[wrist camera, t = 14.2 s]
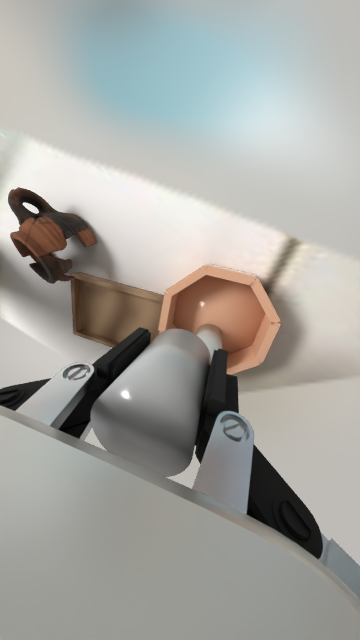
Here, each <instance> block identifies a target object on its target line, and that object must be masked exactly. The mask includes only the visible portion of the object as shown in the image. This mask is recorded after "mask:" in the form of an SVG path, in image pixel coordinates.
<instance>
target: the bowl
mask: <svg viewBox="0 0 360 640" xmlns="http://www.w3.org/2000/svg"><path fill="white" fill-rule="evenodd" d="M280 321H281V320H280V318H279V316H278V315H277V313H276V311H275V309H274V307H273V305H272V303H271V301H270V299H269V297H268V296H267V294H266V292H265V290H264V288H263V286H262V284H261V282H260V280H259V279H258V278H257V277H256V276H255V275H253V274H252V273H248V272H244V271H239V270H235V269H232V268H227V267H222V266H218V265H213V264H208V265H204V266H202V267H201V268H199V269H198V270H196V271H195V272H193V273H192V274H190V275H189V276H187V277H186V278H184V279H183V280H181V281H179V282H178V283H176V284H175V285H173V286H172V287H170V288H169V289H167V290H166V292H165V293H164V299H163V305H162V311H161V316H160V322H159V328H158V330H159V331H160V332H159V334H160V333H162V332H164V331H166V330H169V329H184V330H187V331H190V332H192V333H194V334H196V331H197V329H198V328H199V327H200V326H202V325H204V324H213V325H215V326H217V327H218V328H219V329H220V330H221V332H222V334H223V342H222V349H223V350H227V351H228V357H227V374H229V375H232V374H235V373H238V372H241V371H243V370H246V369H249V368H252V367H255V366H258V365H260V362H261V363H263V361H264V359H265V357H266V355H267V353H268V351H269V348H270V346H271V344H272V342H273V340H274V338H275V336H276V334H277V332H278V330H279V327H280V325H281V324H280Z"/></svg>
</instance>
